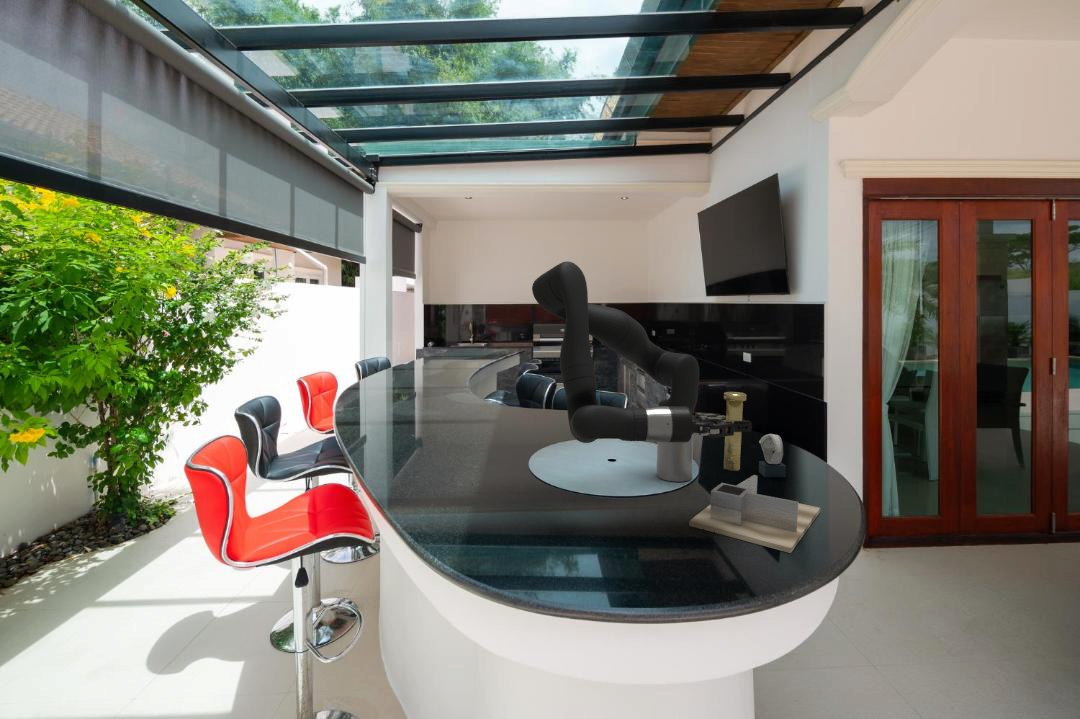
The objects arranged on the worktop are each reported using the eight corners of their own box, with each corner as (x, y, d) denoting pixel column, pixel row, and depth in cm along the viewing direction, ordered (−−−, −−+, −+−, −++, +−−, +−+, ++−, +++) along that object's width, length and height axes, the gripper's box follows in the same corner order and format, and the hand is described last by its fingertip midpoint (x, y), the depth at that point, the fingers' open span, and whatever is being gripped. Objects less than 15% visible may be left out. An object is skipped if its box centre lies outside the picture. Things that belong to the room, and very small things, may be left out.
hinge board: (730, 492, 133) (730, 488, 133) (820, 512, 121) (820, 507, 120) (689, 525, 114) (689, 521, 113) (790, 553, 101) (790, 548, 101)
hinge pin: (725, 463, 117) (728, 391, 116) (745, 467, 115) (749, 393, 113) (717, 468, 114) (720, 393, 112) (738, 472, 111) (742, 396, 109)
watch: (775, 469, 150) (777, 431, 149) (788, 479, 142) (790, 438, 141) (755, 469, 151) (757, 431, 149) (767, 479, 143) (768, 438, 141)
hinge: (735, 496, 128) (736, 471, 127) (810, 512, 118) (812, 486, 117) (709, 517, 115) (710, 490, 114) (791, 538, 105) (792, 509, 104)
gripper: (675, 413, 105) (762, 413, 106) (658, 400, 119) (735, 400, 120) (674, 451, 106) (761, 450, 107) (657, 433, 120) (733, 433, 121)
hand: (747, 424), depth 113 cm, fingers closed on hinge pin, 3 cm apart
